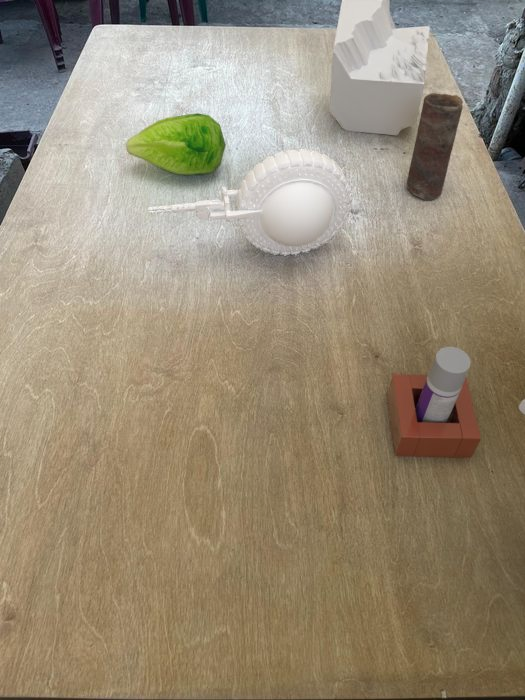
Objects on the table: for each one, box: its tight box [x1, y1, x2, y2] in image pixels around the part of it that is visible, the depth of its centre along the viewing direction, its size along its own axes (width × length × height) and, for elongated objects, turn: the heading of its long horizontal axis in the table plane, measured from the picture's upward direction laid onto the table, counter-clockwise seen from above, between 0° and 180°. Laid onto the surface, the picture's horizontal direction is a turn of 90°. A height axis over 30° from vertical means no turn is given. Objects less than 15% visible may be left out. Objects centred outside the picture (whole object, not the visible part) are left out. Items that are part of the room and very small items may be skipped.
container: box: [415, 346, 472, 423], centre depth 86 cm, size 5×5×15 cm
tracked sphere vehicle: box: [147, 148, 353, 257], centre depth 108 cm, size 35×14×20 cm, turn 100°
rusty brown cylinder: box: [406, 92, 464, 202], centre depth 121 cm, size 8×7×20 cm
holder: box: [386, 373, 482, 458], centre depth 90 cm, size 11×11×5 cm
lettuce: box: [125, 112, 226, 176], centre depth 128 cm, size 14×20×12 cm
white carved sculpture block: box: [328, 0, 431, 136], centre depth 137 cm, size 20×16×25 cm
